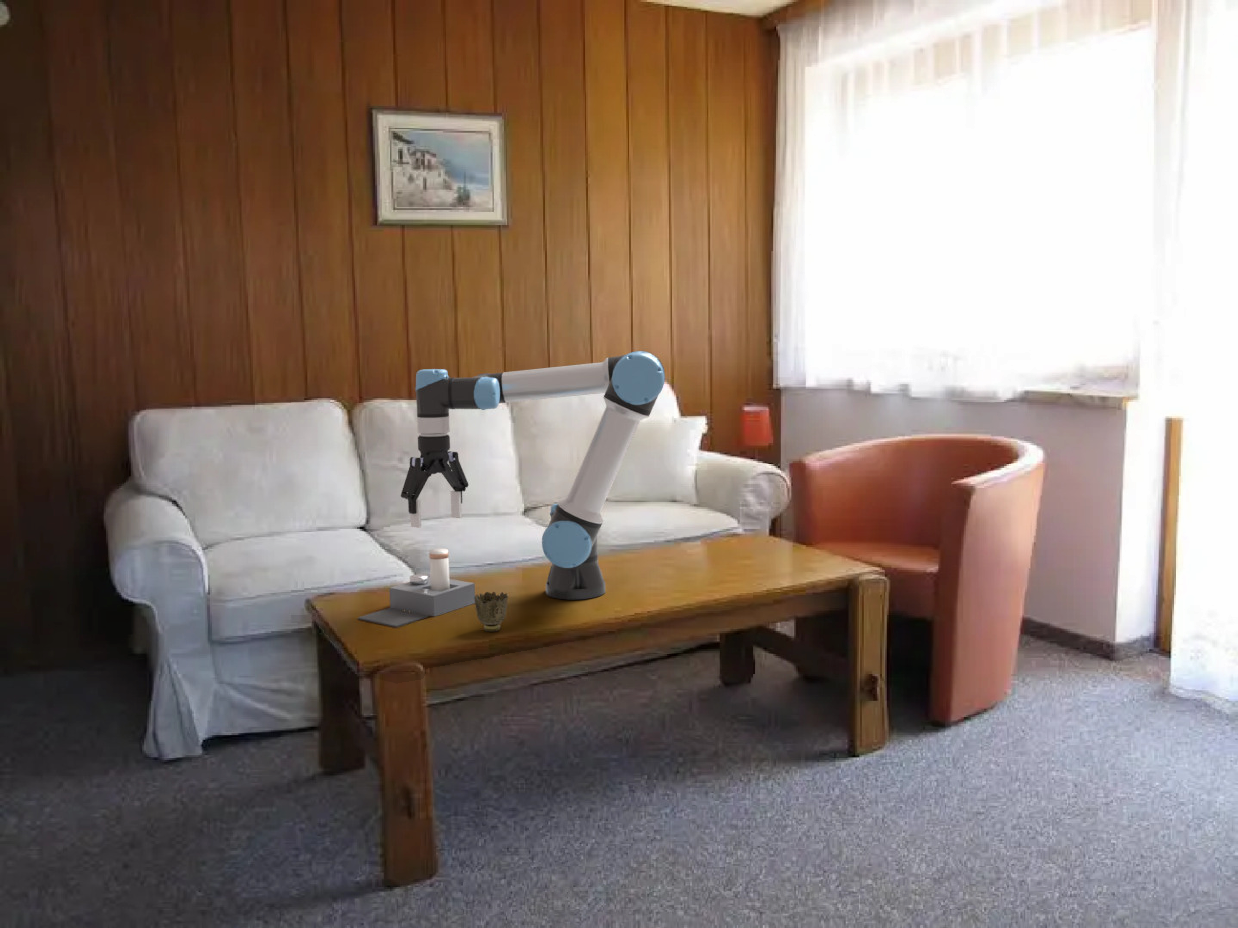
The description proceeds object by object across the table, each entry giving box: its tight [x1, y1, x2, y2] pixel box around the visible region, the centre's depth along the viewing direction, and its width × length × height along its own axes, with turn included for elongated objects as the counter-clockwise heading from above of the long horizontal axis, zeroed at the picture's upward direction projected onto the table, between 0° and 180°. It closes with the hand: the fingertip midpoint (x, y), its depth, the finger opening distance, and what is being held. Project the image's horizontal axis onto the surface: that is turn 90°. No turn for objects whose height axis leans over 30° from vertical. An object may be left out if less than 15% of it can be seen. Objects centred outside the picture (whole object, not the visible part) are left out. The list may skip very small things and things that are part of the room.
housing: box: [388, 575, 476, 618], centre depth 258 cm, size 15×14×5 cm
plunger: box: [409, 573, 429, 585], centre depth 260 cm, size 4×4×6 cm
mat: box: [357, 607, 429, 629], centre depth 248 cm, size 13×10×1 cm
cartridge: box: [428, 548, 450, 592], centre depth 256 cm, size 5×5×14 cm
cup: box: [474, 591, 509, 633], centre depth 236 cm, size 8×7×8 cm
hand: (436, 522), depth 254 cm, fingers open, 13 cm apart
